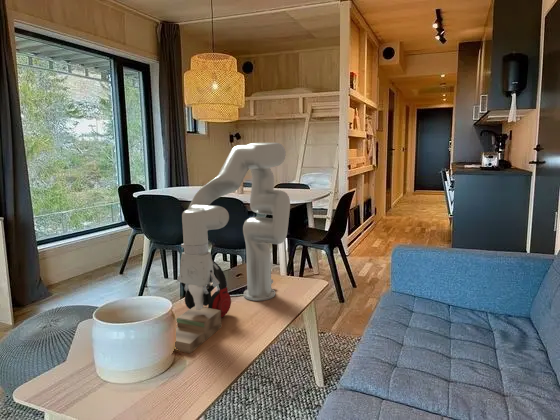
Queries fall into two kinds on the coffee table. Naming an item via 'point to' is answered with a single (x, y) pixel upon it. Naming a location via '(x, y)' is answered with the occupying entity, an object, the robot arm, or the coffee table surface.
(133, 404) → the coffee table surface
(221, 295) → the headphones
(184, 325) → the stand
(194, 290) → the lightbulb
